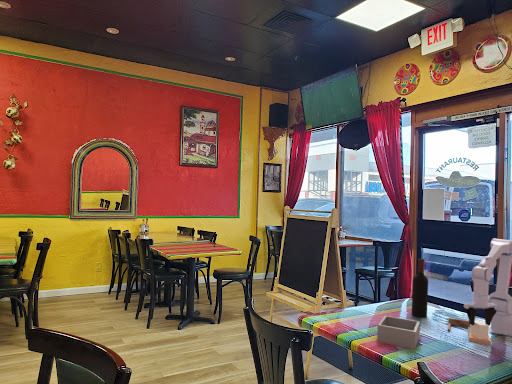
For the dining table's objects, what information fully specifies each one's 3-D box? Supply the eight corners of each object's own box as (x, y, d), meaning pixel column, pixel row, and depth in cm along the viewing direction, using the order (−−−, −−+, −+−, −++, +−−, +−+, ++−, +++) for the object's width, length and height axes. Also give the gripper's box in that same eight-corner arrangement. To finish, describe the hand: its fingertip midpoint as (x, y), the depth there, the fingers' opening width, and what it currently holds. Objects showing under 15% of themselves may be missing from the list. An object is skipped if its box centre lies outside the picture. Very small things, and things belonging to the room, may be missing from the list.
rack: (470, 327, 194) (470, 321, 194) (470, 335, 181) (471, 328, 181) (448, 323, 198) (448, 317, 198) (447, 331, 186) (447, 324, 186)
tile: (489, 339, 177) (489, 335, 177) (490, 344, 170) (490, 341, 170) (468, 335, 181) (468, 332, 181) (469, 340, 174) (469, 337, 174)
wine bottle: (412, 316, 207) (414, 259, 208) (410, 312, 215) (413, 257, 215) (427, 318, 205) (430, 260, 206) (426, 314, 212) (428, 258, 213)
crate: (419, 337, 175) (419, 321, 175) (415, 349, 160) (415, 331, 160) (384, 330, 182) (384, 315, 182) (377, 341, 167) (377, 324, 167)
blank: (478, 334, 178) (479, 321, 179) (488, 339, 173) (488, 325, 173) (470, 334, 178) (471, 320, 178) (479, 339, 172) (480, 325, 172)
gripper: (489, 291, 180) (488, 321, 180) (459, 291, 179) (458, 321, 179) (500, 295, 173) (499, 326, 173) (470, 295, 172) (469, 326, 172)
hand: (479, 324), depth 175 cm, fingers open, 7 cm apart
